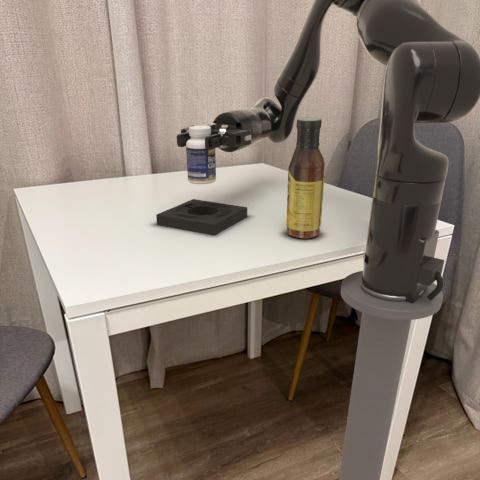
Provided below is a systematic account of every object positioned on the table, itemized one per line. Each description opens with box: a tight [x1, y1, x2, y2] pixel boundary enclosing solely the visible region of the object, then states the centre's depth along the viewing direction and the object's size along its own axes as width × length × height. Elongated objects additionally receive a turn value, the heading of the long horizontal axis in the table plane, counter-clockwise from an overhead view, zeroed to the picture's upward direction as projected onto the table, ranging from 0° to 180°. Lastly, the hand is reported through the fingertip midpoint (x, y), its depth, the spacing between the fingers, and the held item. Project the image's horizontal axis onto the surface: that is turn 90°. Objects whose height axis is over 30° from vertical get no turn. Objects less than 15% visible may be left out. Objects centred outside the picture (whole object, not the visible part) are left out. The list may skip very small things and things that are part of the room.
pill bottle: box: [185, 125, 217, 185], centre depth 89 cm, size 5×5×10 cm
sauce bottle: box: [285, 116, 326, 240], centre depth 83 cm, size 7×6×20 cm
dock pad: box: [155, 198, 248, 236], centre depth 95 cm, size 13×13×2 cm
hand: (192, 142), depth 86 cm, fingers closed on pill bottle, 5 cm apart
